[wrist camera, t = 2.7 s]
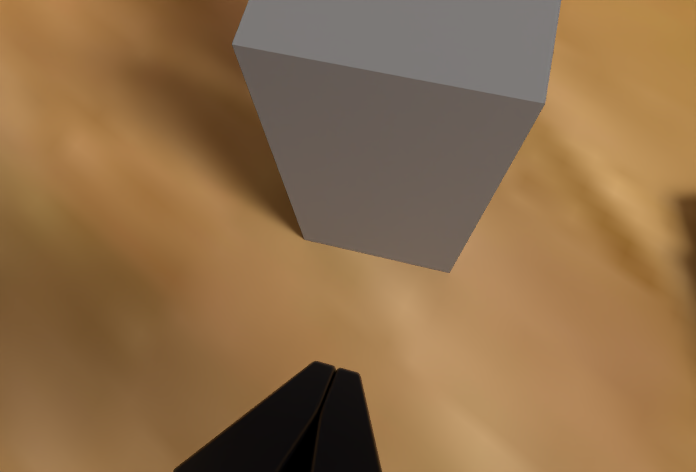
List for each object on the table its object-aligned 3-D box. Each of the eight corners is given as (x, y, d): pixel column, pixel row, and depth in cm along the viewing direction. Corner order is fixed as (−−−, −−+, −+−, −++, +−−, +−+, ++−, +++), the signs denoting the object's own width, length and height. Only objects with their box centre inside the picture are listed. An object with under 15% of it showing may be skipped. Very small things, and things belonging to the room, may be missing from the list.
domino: (449, 272, 17) (545, 103, 8) (304, 239, 18) (231, 44, 8) (460, 218, 18) (561, -1, 9) (319, 187, 19) (268, -49, 9)
